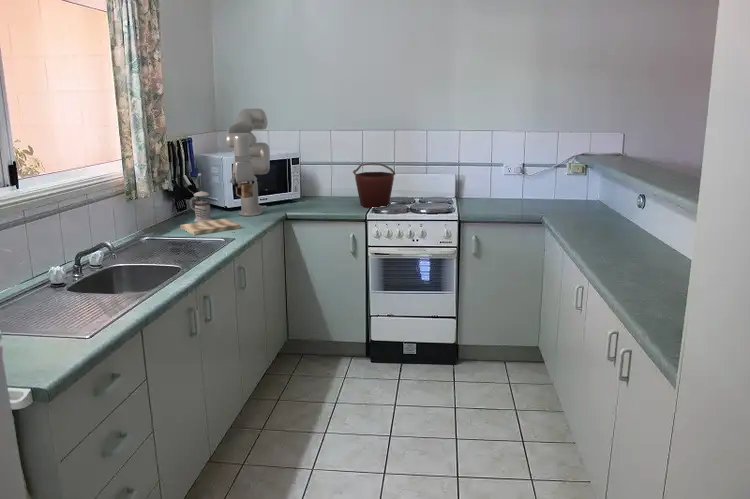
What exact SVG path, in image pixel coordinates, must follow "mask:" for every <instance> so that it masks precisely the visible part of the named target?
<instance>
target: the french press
mask: <svg viewBox="0 0 750 499" xmlns="http://www.w3.org/2000/svg"><path fill="white" fill-rule="evenodd" d="M197 176H198V177H201V176H203V174H202V173H198V174H197ZM199 180H200V181H199V182H200V185H202V181H201V178H199ZM209 195H210V193H209V192H206V191H202V190H200V191H198V192H195V193H194V194H193V197H191V198H190V200H189V202H190V204H189V206H190V208H191V209H193V208H194V209H193V211H194V213H195V218H194V220H193V222H195V223H197V222H204V221H211V220H214V218H212V216H211V205H210V201H208V200H198V201H195V205H194V206H193V200H196V197H209Z"/></svg>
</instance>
